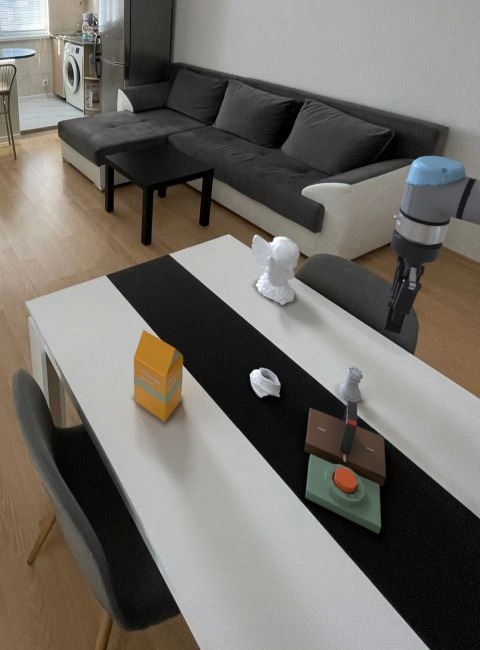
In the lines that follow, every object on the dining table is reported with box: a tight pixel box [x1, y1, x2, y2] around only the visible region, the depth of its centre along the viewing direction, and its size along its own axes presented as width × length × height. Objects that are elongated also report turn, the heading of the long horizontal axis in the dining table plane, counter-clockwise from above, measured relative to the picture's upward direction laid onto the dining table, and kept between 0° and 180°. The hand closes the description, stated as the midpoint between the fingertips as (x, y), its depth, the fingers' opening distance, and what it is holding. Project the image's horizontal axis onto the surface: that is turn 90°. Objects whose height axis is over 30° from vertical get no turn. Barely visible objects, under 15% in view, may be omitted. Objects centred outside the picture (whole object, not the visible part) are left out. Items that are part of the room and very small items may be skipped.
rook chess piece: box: [338, 365, 364, 403], centre depth 101 cm, size 4×4×8 cm
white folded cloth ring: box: [249, 367, 282, 399], centre depth 106 cm, size 8×7×5 cm
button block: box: [305, 454, 382, 535], centre depth 83 cm, size 12×8×4 cm, turn 59°
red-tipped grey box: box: [340, 400, 358, 454], centre depth 89 cm, size 6×2×8 cm, turn 148°
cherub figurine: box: [251, 234, 301, 306], centre depth 132 cm, size 13×12×20 cm
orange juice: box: [133, 329, 184, 423], centre depth 101 cm, size 8×9×20 cm
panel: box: [304, 407, 387, 487], centre depth 91 cm, size 14×10×3 cm
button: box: [334, 468, 357, 494], centre depth 82 cm, size 4×4×2 cm
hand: (391, 329), depth 90 cm, fingers closed
